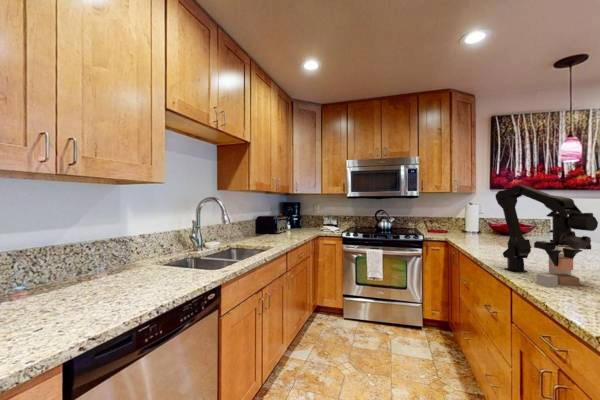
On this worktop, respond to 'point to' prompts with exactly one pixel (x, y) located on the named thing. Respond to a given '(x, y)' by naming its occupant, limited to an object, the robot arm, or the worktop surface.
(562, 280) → the walnut base
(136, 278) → the worktop surface
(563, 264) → the terracotta cube
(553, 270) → the can
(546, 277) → the slate cube
